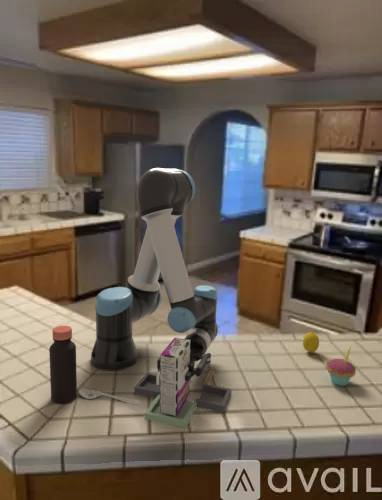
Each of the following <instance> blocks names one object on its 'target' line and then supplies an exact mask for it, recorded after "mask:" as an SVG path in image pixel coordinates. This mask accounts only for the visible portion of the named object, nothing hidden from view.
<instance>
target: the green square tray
mask: <svg viewBox="0 0 382 500" xmlns="http://www.w3.org/2000/svg"><path fill="white" fill-rule="evenodd" d="M195 399H196V398H194V399H193V401H188V400H186V401H185V403H184V405H183V406H182V408H181V410H180V412H179V414H178V415H177V416H172V415H167V414H162V413H160V394H158V396H157V397H156V398H154V400H153V401H152V403H150V406H149V407H148V408H147V410H146V411H145V412H144V419H145V420H149V421H154V422H158V423H163V424H166V425H171V426H175V427H179V428H184V429H186V428H187V427H188V424H189V422H190V421H191V419H192V417H193V415H194V413H195V411H196V409H197V408H198V407H197V402H195Z"/></svg>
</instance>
